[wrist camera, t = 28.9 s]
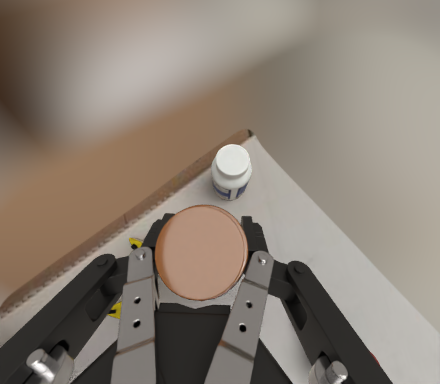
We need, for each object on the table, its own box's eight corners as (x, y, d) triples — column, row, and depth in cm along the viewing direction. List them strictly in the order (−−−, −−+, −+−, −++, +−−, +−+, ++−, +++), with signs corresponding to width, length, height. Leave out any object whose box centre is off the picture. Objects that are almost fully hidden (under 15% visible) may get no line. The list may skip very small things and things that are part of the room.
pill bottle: (241, 167, 31) (249, 134, 22) (248, 197, 30) (261, 175, 20) (210, 173, 31) (205, 143, 21) (216, 203, 29) (214, 185, 20)
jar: (196, 285, 17) (168, 333, 8) (176, 234, 18) (132, 224, 9) (245, 260, 18) (272, 278, 8) (222, 212, 19) (224, 182, 10)
